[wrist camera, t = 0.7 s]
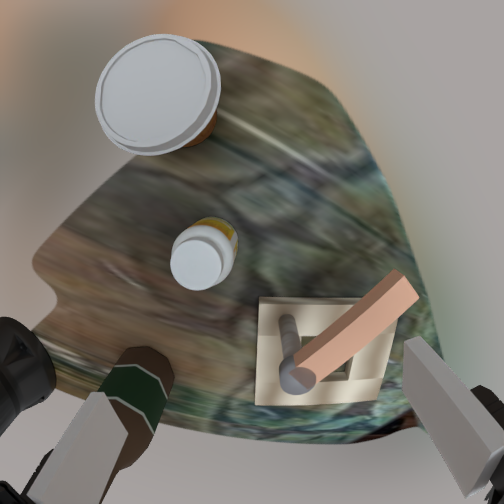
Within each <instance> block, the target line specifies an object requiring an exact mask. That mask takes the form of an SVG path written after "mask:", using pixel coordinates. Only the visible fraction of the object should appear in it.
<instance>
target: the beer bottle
mask: <svg viewBox="0 0 504 504" xmlns="http://www.w3.org/2000/svg"><path fill="white" fill-rule="evenodd" d="M173 382H174V375H173V372H172V370H171V367H170V365H169V362H168V359H167V358H166V357H164V356H162V355H161V354H159V353H158V352H156V351H154V350H153V349H151V348H150V347H139V348H129V349H127V350H126V351H125V352H124V353H123V355H122V356H121V357H120V359H119V360H118V362H117V363H116V365H115V366H114V367H113V369H112V370H111V372H110V373H109V375H108V376H107V378H106V379H105V380H104V382H103V383H102V385H101V386H100V388H99V389H98V391H97V392H104V393H105V395H106V397H107V398H108V400H109V402H110V404H111V406H112V407H113V409H114V411H115V412H116V414H117V416H118V418H119V419H120V421H121V423H122V424H123V426H124V427H125V429H126V431H127V432H128V435H127V438H126V440H125V442H124V445H123V447H122V449H121V452H120V454H119V456H118V458H117V461H116V463H115V466H114V468H113V470H112V473H111V475H110V477H109V480H108V482H107V485H106V487H105V489H104V492H103V494H102V497H101V499H100V502H99V504H101V503H102V501H103V499H104V497H105V495H106V493H107V491H108V489H109V488H110V486H111V484H112V482H113V480H114V478H115V476H116V474H117V473H118V472H119V470H122V469H124V468H127V467H129V466H131V465H132V464H133V463H134V462H135V461H136V460H137V459H138V458H139V457H140V456H141V455H142V454H143V453H144V451H145V450H146V449H147V448H148V446H149V444H150V442H151V440H152V438H153V436H154V433H155V431H156V428H157V425H158V423H159V420H160V417H161V415H162V412H163V409H164V407H165V404H166V401H167V399H168V396H169V393H170V391H171V388H172V385H173Z"/></svg>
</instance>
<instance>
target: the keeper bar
mask: <svg viewBox="0 0 504 504" xmlns="http://www.w3.org/2000/svg"><path fill="white" fill-rule="evenodd" d="M417 299H419V296H418V295H417V293H416V292H415V290H414V289H413V288H412V286H411V285H410V283H409V282H408V280H407V279H406V278H405V276H404V275H403V274H401V273H400V272H398V271H397V270H396V269H393V270H392V271H391V272H390V273H389V274H388V275H387V276H386V277H385V278H384V279H382V280H381V281H380V282H379V283H378V284H377V285H376V286H375V287H374V288H373V289H372V290H370V291H369V292H368V293H367V294H366V295H365V296H364V297H363V298H362V299H360V300H359V301H358V302H357V303H356V304H355V305H354V306H352V307H351V308H350V309H349V310H348V311H347V312H345V313H344V314H343V315H342V316H341V317H340V318H338V319H337V320H336V321H335V322H334V323H332V324H331V325H330V326H329V327H328V328H326V329H325V330H324V331H323V332H322V333H320V334H319V335H318V336H317V337H315V338H314V339H313V340H312V341H310V342H309V343H308V344H307V345H305V346H304V347H303V348H301V349H300V350H299V351H298V352H296V353H295V354H294V355H291V356H288V357H286V358H285V359H284V360H283V361H282V362H281V363H280V365H279V379H280V386H281V388H282V390H283V391H284V392H286V393H288V394H291V395H302V394H305V393H307V392H309V391H310V390H311V389H312V388H313V387H314V386H315V384H317V383H318V382H319V381H321V380H322V379H324V378H325V377H326V376H328V375H329V374H330V373H332V372H333V371H334V370H336V369H337V368H338V367H340V366H341V365H342V364H343V363H345V362H346V361H347V360H349V359H350V358H351V357H352V356H354V355H355V354H356V353H357V352H359V351H360V350H361V349H362V348H363V347H365V346H366V345H367V344H368V343H369V342H371V341H372V340H373V339H374V338H375V337H377V336H378V335H379V334H380V333H381V332H382V331H384V330H385V329H386V328H387V327H388V326H389V325H390V324H392V323H393V322H394V321H395V320H396V319H397V318H398V317H399V316H400V315H402V314H403V313H404V312H405V311H406V310H407V309H408V308H409V307H410V306H411V305H412V304H413V303H414V302H415V301H416V300H417Z"/></svg>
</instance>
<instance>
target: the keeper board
mask: <svg viewBox="0 0 504 504" xmlns="http://www.w3.org/2000/svg"><path fill="white" fill-rule="evenodd" d="M360 299H362V298H297V297H259V311H258V337H257V361H256V384H255V405H316V404H335V403H348V402H359V401H369V400H376V399H377V396H378V393H379V390H380V386H381V383H382V380H383V376H384V373H385V369H386V365H387V362H388V358H389V354H390V350H391V346H392V342H393V338H394V334H395V329H396V325H397V320H398V318H397V319H396V320H395V321H394V322H393V323H392V324H390V325H389V326H388V327H387V328H386V329H385V330H384V331H382V332H381V333H380V334H379V335H378V336H377V337H375V338H374V339H373V340H372V341H371V342H369V343H368V344H367V345H366V346H365V347H363V348H362V349H361V350H360V351H359V352H357V353H356V354H355V355H354V356H352V357H351V358H350V359H349V360H347V362H346V367H345V372H332V373H330V374H329V375H328V376H326V377H325V378H324V379H322V380H321V381H319V382H318V383H317V384H315V386H314V387H313V388H312V389H311V390H310V391H309V392H307V393H305V394H302V395H291V394H288V393H286V392H284V391H283V390H282V388H281V386H280V379H279V365H280V363H281V362H282V361H283V360H284V359H285V358H286V357H288V356H291V355H294V354H295V353H296V352H298V351H299V350H300V349H301V348H302V345H301V337H302V336H318V335H319V334H320V333H322V332H323V331H324V330H325V329H326V328H328V327H329V326H330V325H331V324H332V323H334V322H335V321H336V320H337V319H338V318H340V317H341V316H342V315H343V314H344V313H345V312H347V311H348V310H349V309H350V308H351V307H352V306H354V305H355V304H356V303H357V302H358V301H359V300H360Z"/></svg>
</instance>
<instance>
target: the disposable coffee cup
mask: <svg viewBox="0 0 504 504" xmlns="http://www.w3.org/2000/svg"><path fill="white" fill-rule="evenodd" d="M220 92H221V81H220V73H219V70H218V67H217V64H216V62H215V60H214V59H213V57H212V55H211V54H210V53H209V52H208V51H207V50H206V49H205V48H204V47H203V46H201V45H200V44H199V43H197V42H195V41H193V40H191V39H188V38H185V37H181V36H176V35H170V34H158V35H150V36H147V37H144V38H141V39H138V40H136V41H134V42H132V43H130V44H128V45H127V46H126V47H124V48H123V49H121V50H120V51H119V52H118V53H117V54H116V55H115V56H114V57H113V58H112V59H111V60H110V61H109V63H108V64H107V65H106V67H105V69H104V70H103V72H102V74H101V76H100V78H99V81H98V84H97V88H96V94H95V107H96V113H97V116H98V119H99V122H100V124H101V126H102V129H103V131H104V132H105V134H106V135H107V137H108V138H109V139H110V140H111V141H112V142H113V143H114V144H115V145H117V146H118V147H119V148H121V149H123V150H125V151H127V152H130V153H133V154H137V155H145V156H152V155H160V154H165V153H168V152H171V151H173V150H176V149H179V148H181V147H190V146H194V145H197V144H199V143H201V142H202V141H204V140H205V139H206V138H207V137H208V136H209V135H210V134H211V133H212V131H213V129H214V127H215V124H216V121H217V105H218V102H219V98H220Z"/></svg>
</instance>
